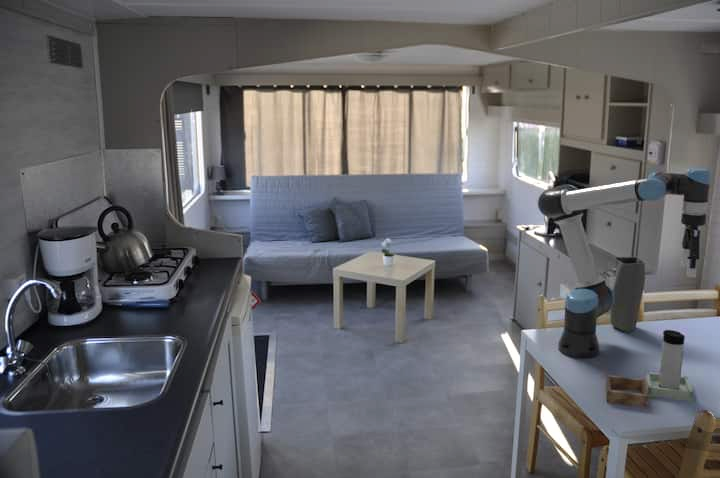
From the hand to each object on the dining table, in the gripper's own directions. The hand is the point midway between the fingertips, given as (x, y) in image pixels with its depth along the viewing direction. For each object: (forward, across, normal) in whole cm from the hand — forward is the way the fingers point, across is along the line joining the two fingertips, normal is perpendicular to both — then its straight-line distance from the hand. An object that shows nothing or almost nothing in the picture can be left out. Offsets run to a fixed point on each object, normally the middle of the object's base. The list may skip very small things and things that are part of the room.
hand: (688, 271), depth 216 cm
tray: (+35, -26, +6) cm, 44 cm away
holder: (+35, -34, +20) cm, 53 cm away
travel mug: (+34, -26, +6) cm, 43 cm away
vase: (+35, +29, +17) cm, 48 cm away
